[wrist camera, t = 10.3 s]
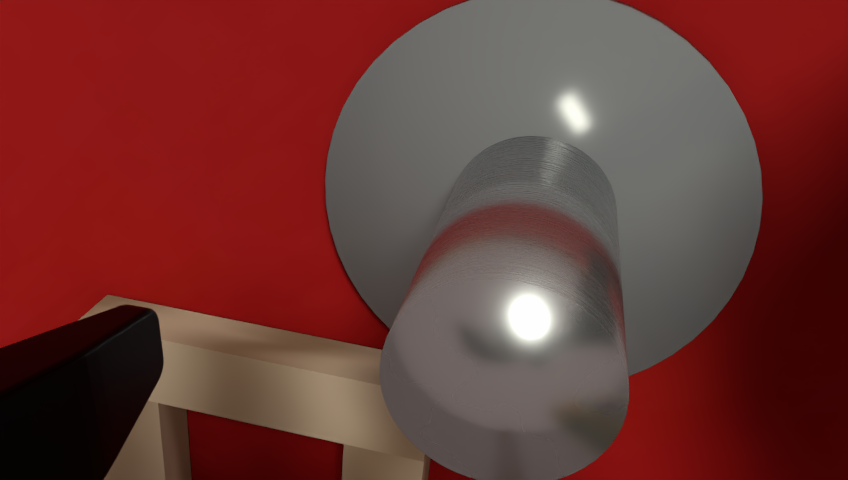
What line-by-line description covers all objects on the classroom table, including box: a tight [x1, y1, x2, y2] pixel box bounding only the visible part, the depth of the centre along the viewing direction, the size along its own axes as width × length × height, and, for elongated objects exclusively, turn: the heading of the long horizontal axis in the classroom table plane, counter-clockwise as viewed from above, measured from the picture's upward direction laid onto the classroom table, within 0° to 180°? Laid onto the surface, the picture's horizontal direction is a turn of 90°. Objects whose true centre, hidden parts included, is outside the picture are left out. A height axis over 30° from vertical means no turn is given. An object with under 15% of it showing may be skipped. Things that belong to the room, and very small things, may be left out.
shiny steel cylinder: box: [379, 136, 629, 480], centre depth 17 cm, size 5×5×8 cm
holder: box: [79, 295, 431, 480], centre depth 27 cm, size 12×12×2 cm
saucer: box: [325, 0, 763, 376], centre depth 21 cm, size 12×12×1 cm
